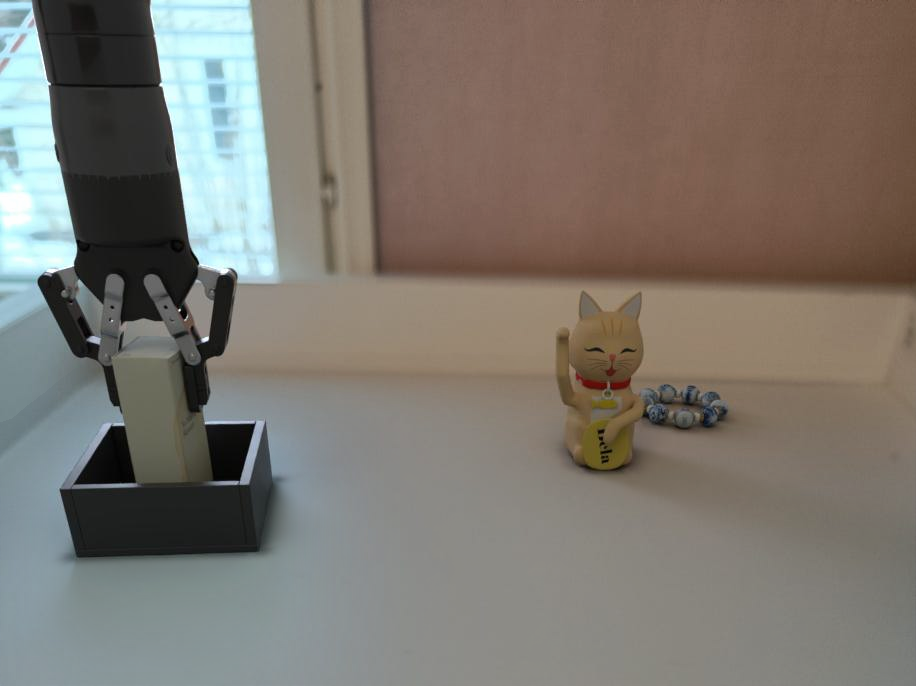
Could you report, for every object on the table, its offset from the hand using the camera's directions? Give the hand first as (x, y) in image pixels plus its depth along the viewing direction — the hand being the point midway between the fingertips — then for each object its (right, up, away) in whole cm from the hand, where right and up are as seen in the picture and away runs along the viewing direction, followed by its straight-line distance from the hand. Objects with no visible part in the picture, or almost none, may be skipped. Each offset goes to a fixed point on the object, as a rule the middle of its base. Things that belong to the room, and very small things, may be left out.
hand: (162, 409), depth 70 cm
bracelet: (+46, +6, +28) cm, 55 cm away
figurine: (+36, 0, +18) cm, 40 cm away
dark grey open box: (0, -8, +5) cm, 9 cm away
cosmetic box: (0, -6, +4) cm, 8 cm away
